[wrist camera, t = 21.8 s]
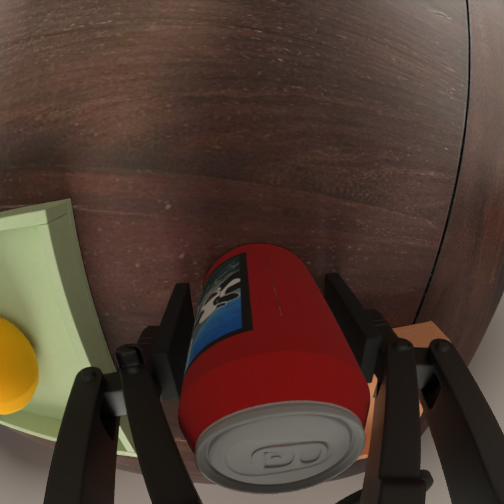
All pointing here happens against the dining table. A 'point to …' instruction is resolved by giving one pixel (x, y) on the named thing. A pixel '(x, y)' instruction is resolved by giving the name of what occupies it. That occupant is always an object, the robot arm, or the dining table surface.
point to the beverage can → (270, 378)
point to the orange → (16, 369)
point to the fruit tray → (51, 312)
